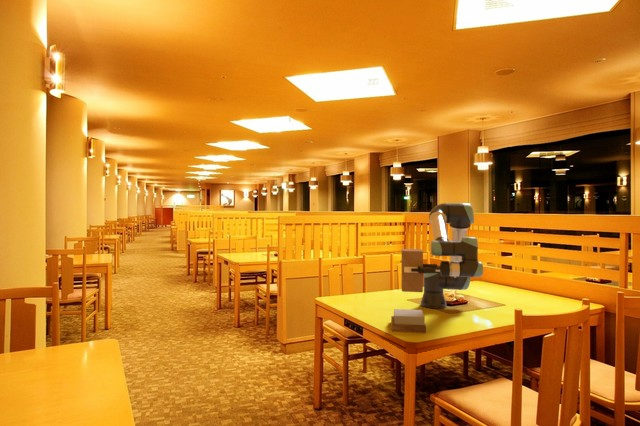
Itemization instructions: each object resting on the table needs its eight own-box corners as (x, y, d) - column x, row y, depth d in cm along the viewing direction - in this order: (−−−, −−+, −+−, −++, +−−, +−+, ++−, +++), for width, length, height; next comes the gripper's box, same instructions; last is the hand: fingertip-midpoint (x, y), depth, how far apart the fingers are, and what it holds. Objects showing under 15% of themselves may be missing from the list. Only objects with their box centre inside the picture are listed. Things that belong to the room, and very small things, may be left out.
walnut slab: (391, 323, 212) (391, 316, 212) (422, 325, 209) (422, 317, 209) (392, 332, 196) (392, 324, 196) (426, 334, 193) (426, 326, 193)
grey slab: (393, 316, 211) (393, 308, 210) (421, 317, 209) (421, 309, 209) (395, 324, 197) (395, 315, 197) (424, 325, 195) (424, 317, 195)
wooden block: (422, 292, 196) (423, 251, 196) (401, 291, 198) (402, 250, 197) (421, 288, 206) (421, 249, 205) (401, 287, 207) (401, 248, 207)
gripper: (453, 280, 188) (404, 279, 191) (445, 272, 210) (401, 271, 213) (453, 264, 188) (404, 263, 191) (445, 258, 210) (401, 257, 213)
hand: (403, 267), depth 202 cm, fingers closed on wooden block, 10 cm apart
